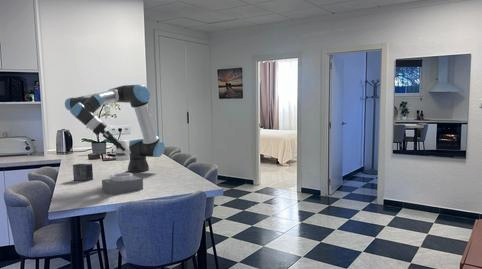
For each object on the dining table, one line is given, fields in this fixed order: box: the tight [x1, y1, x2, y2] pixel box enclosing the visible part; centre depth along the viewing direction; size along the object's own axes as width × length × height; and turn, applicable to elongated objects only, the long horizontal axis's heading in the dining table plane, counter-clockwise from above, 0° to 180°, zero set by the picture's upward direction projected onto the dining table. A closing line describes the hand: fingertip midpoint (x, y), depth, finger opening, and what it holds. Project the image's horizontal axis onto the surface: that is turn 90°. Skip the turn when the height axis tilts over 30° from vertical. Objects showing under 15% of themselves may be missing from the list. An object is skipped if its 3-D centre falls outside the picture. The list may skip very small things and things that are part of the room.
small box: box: [72, 163, 94, 182], centre depth 225 cm, size 11×6×10 cm, turn 74°
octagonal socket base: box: [101, 172, 144, 196], centre depth 196 cm, size 18×14×8 cm
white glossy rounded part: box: [114, 139, 130, 162], centre depth 196 cm, size 7×7×11 cm
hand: (128, 153), depth 197 cm, fingers closed on white glossy rounded part, 7 cm apart
